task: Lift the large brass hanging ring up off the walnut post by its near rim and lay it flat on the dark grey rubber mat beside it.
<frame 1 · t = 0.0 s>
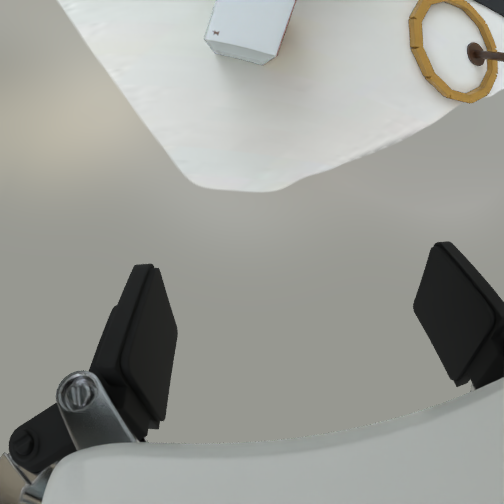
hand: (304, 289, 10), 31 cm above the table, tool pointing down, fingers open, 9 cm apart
small box: (248, 31, 29), on the table
post: (475, 54, 28), on the table
ring: (455, 46, 28), on the table
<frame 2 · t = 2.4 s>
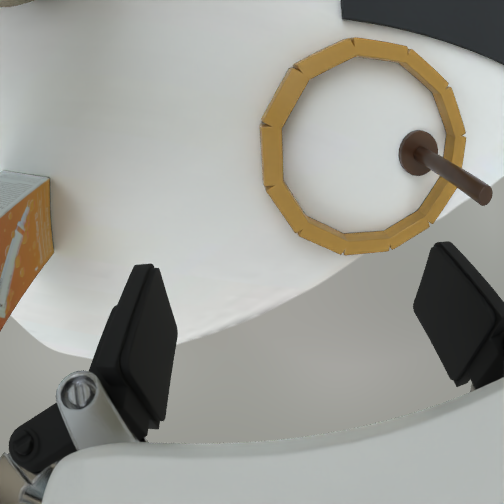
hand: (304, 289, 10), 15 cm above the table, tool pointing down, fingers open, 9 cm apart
small box: (29, 210, 22), on the table
post: (417, 152, 22), on the table
ring: (372, 150, 22), on the table
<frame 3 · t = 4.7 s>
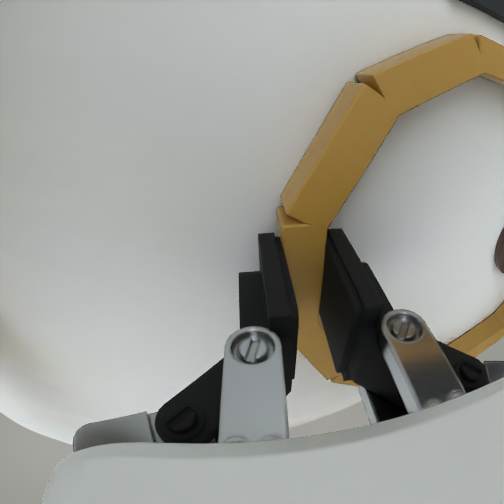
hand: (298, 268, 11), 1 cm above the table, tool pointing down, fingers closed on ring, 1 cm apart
ring: (466, 245, 11), on the table, touching gripper
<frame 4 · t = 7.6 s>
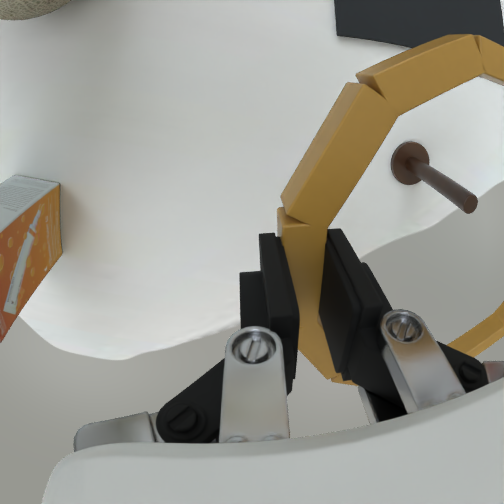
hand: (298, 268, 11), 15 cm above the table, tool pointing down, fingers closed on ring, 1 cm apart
small box: (38, 213, 24), on the table
post: (409, 162, 23), on the table
ring: (465, 244, 11), point 14 cm above the table, touching gripper
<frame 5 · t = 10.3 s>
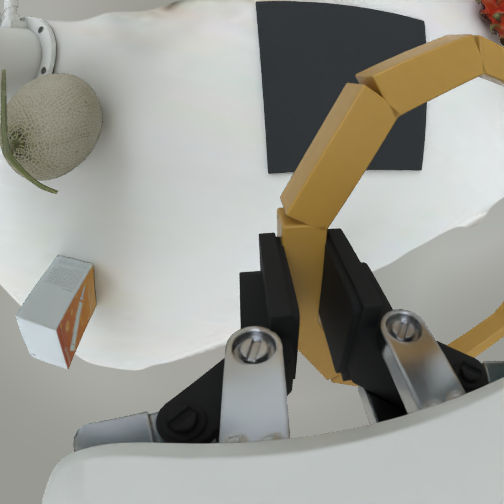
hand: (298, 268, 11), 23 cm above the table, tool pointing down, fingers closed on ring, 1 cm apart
small box: (78, 279, 39), on the table
fruit: (79, 118, 27), on the table
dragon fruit: (487, 12, 19), on the table
ring: (465, 245, 11), point 22 cm above the table, touching gripper
mat: (351, 86, 27), on the table
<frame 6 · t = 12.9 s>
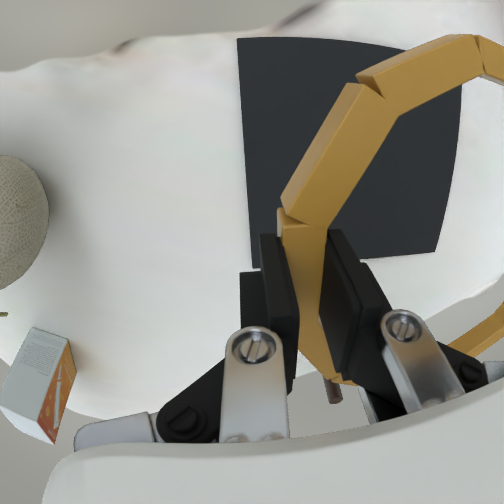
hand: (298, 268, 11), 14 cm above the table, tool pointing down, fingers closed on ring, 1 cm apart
small box: (55, 349, 34), on the table
fruit: (29, 195, 22), on the table
post: (318, 334, 33), on the table
ring: (465, 245, 11), point 13 cm above the table, touching gripper
mat: (363, 158, 22), on the table
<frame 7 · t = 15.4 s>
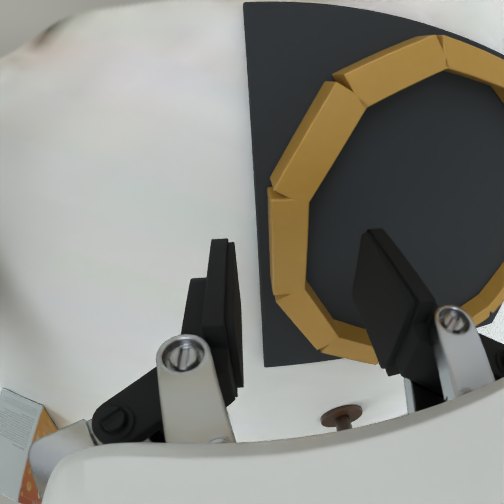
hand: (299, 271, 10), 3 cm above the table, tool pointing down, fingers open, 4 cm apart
small box: (32, 409, 25), on the table
post: (341, 414, 24), on the table
ring: (442, 224, 13), point 1 cm above the table, touching mat
mat: (438, 218, 13), on the table
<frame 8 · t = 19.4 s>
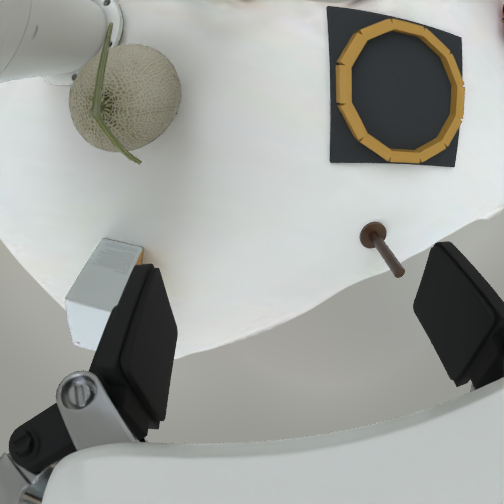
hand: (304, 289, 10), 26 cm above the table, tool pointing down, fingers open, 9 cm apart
small box: (122, 264, 40), on the table
fruit: (145, 96, 29), on the table
post: (372, 234, 39), on the table
ring: (404, 90, 28), point 1 cm above the table, touching mat
mat: (403, 90, 29), on the table
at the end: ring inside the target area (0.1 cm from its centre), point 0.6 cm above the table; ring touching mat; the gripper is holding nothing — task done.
